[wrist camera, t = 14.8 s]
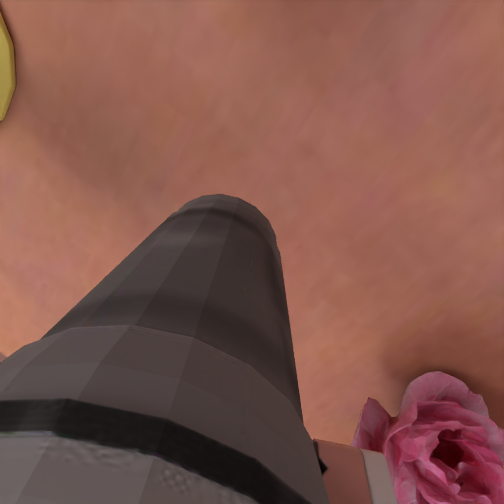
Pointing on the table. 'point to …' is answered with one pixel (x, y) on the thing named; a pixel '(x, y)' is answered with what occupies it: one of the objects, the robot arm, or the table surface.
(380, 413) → the flower
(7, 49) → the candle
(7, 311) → the table surface
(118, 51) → the table surface
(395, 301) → the table surface
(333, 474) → the robot arm
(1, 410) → the beverage cup
